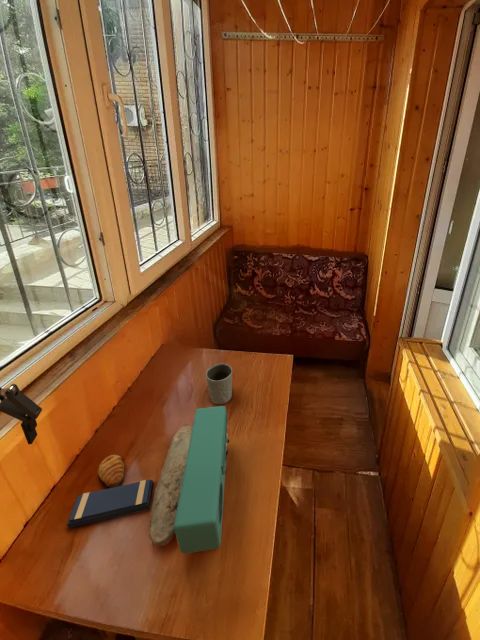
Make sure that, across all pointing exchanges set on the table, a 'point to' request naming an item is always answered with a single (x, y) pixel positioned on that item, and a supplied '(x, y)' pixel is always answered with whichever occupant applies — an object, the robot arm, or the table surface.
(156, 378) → the table surface
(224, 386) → the grey stone cup
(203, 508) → the teal bluetooth speaker
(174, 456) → the long grey stone
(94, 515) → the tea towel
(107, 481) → the pastry
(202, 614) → the table surface
